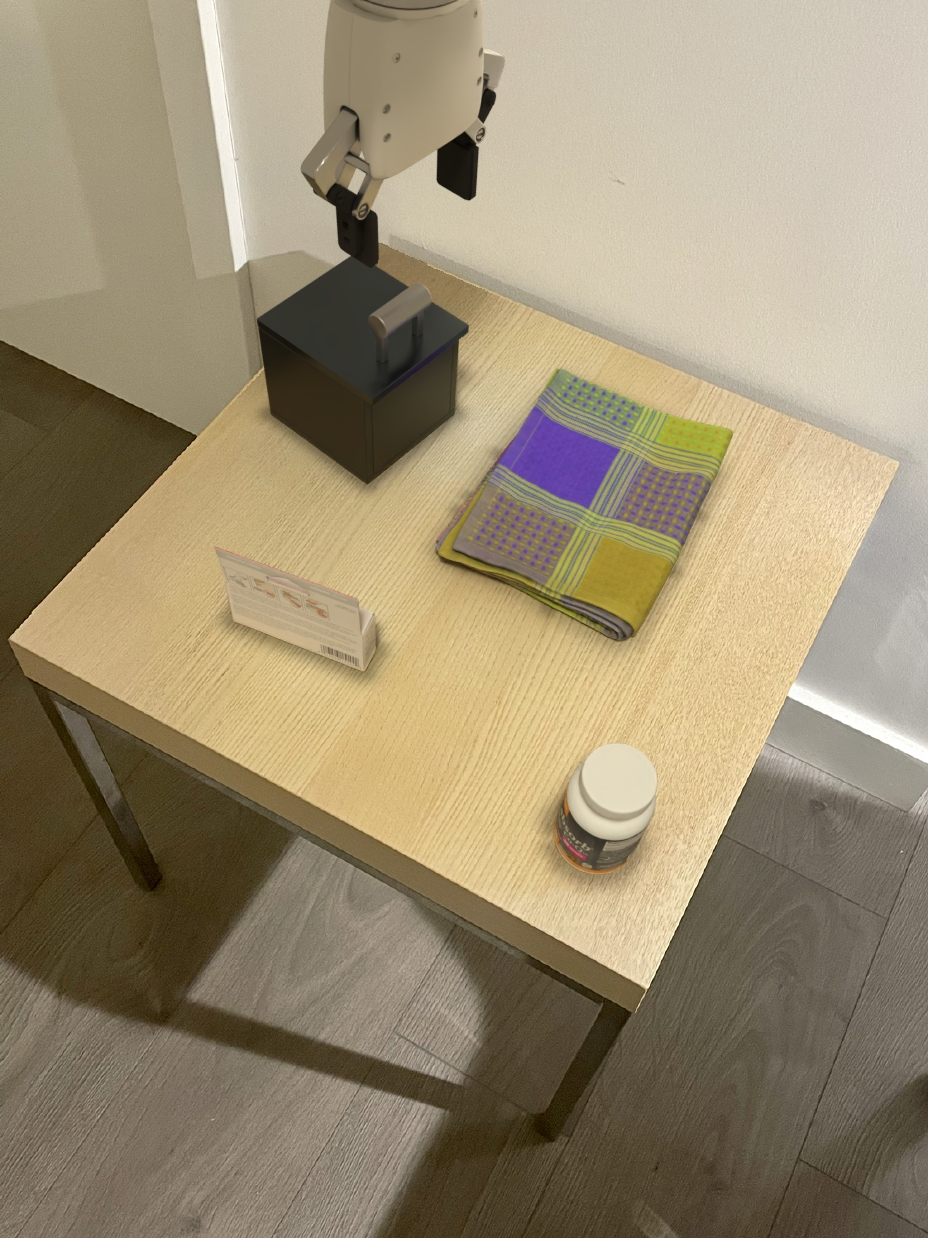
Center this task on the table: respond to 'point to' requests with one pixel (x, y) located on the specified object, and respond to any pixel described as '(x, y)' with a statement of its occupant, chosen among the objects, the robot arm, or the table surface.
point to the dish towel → (589, 503)
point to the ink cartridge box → (298, 611)
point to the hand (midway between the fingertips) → (408, 222)
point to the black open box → (358, 408)
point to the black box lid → (363, 328)
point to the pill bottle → (606, 808)
